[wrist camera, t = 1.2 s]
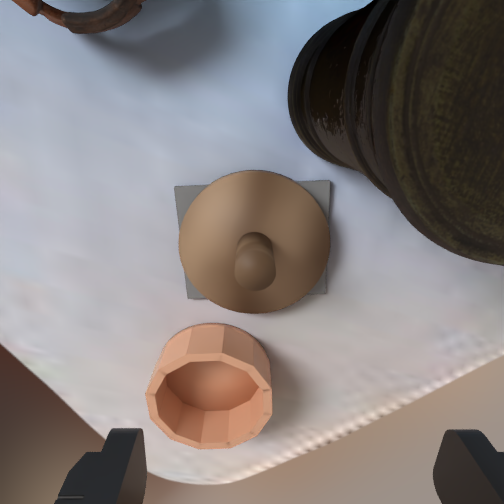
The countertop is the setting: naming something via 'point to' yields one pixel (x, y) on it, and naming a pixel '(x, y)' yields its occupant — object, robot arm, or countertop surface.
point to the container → (414, 112)
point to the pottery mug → (86, 15)
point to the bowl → (211, 387)
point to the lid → (254, 242)
